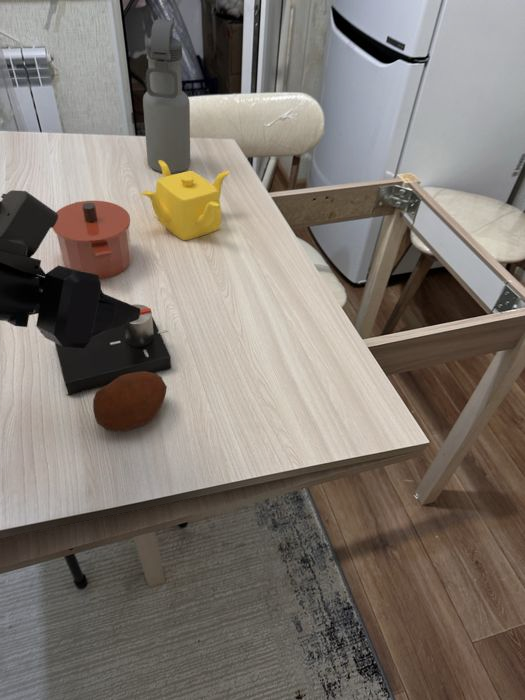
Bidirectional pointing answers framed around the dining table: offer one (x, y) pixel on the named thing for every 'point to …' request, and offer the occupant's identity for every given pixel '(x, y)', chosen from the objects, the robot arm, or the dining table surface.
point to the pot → (98, 255)
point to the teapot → (187, 203)
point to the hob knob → (140, 329)
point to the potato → (129, 401)
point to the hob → (110, 360)
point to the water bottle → (166, 101)
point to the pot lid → (91, 221)
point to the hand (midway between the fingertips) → (114, 305)
